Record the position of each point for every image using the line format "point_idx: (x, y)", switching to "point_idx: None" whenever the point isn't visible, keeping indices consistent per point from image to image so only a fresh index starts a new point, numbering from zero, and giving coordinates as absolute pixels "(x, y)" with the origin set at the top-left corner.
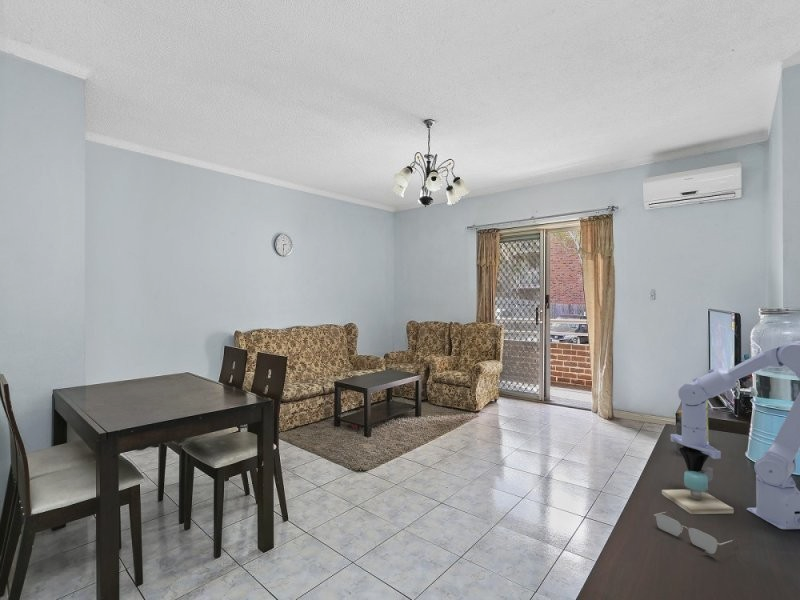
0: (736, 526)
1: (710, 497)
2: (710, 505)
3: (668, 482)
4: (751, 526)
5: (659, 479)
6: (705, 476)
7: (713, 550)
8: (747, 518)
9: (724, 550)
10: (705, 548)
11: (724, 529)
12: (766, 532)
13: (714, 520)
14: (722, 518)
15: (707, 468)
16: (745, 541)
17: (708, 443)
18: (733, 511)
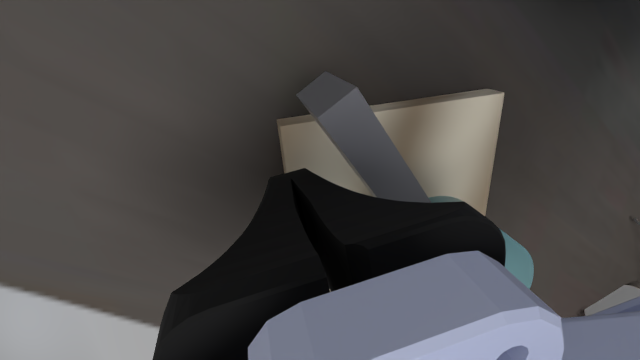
0: (562, 150)
1: (388, 133)
2: (462, 183)
3: (133, 222)
4: (579, 91)
5: (93, 253)
6: (510, 253)
7: (632, 290)
8: (533, 55)
9: (627, 256)
10: (613, 297)
11: (563, 202)
12: (624, 64)
13: (513, 202)
14: (508, 165)
15: (360, 147)
16: (626, 180)
17: (552, 328)
18: (494, 91)
